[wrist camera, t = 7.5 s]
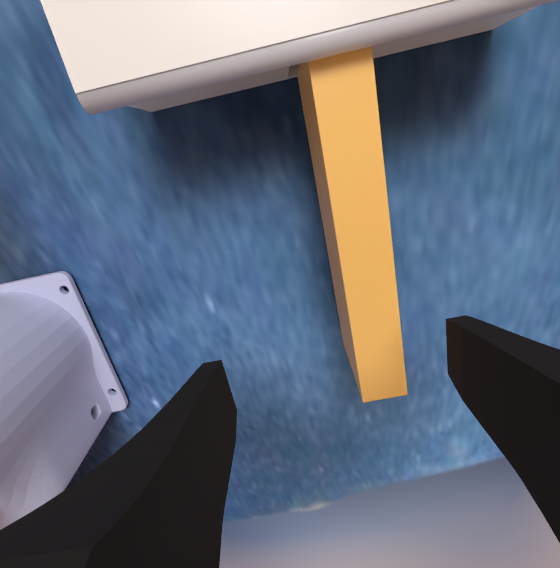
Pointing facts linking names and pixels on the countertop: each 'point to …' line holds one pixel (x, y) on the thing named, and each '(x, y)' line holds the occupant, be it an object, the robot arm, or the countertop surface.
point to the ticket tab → (355, 215)
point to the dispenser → (239, 41)
